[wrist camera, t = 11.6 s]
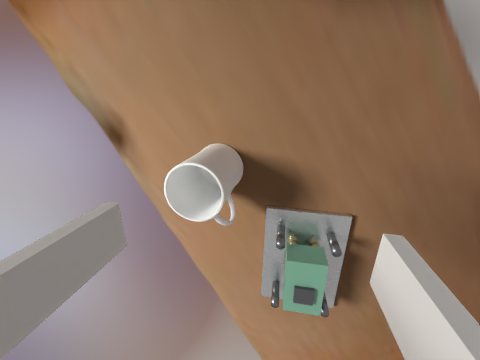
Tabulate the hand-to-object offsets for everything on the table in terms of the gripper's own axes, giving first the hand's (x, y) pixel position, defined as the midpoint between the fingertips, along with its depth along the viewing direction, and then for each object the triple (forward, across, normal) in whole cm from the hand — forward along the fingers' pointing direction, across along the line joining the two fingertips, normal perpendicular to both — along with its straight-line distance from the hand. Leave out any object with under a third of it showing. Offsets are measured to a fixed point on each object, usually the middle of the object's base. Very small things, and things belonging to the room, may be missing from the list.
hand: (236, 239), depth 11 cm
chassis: (+27, +7, -21) cm, 35 cm away
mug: (+27, -8, -6) cm, 29 cm away
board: (+24, +7, -21) cm, 33 cm away
